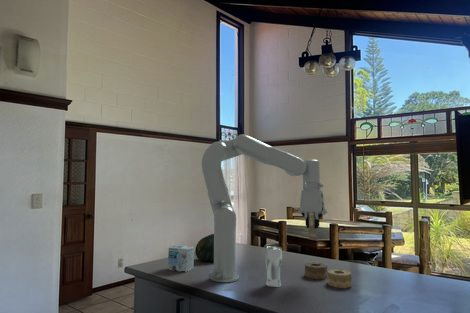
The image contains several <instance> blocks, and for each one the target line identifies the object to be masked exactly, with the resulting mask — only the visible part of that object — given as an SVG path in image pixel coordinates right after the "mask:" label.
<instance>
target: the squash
mask: <svg viewBox="0 0 470 313" xmlns="http://www.w3.org/2000/svg"><path fill="white" fill-rule="evenodd" d="M194 254H195V256H196V258H197V259H198V260H200V261H201V262H204V261H211V262H214V233H211V234H209V235H206V236H204V237H202V238H200V239H199V240H198V242H197V244H196V246H195V248H194Z"/></svg>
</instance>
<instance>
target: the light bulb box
mask: <svg viewBox="0 0 470 313" xmlns="http://www.w3.org/2000/svg"><path fill="white" fill-rule="evenodd" d="M194 255H195V247H194V246H190V245H189V246H188V245H179V244H174V245H173V246H169V247H168V255H167V257H168V258H167V270H168V269H169V270H168V271H174V270H177V271H176V272H181V271H185V272H184V273H188V272H190V271H192V270H191V269H193V268H194V260H195V256H194ZM189 270H190V271H189ZM193 270H194V269H193ZM187 271H188V272H187Z"/></svg>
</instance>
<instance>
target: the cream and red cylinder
mask: <svg viewBox="0 0 470 313" xmlns="http://www.w3.org/2000/svg"><path fill="white" fill-rule="evenodd" d="M308 213H309V228H308V239H309V241H310V240H311V241H317V229H315V218H316V217H315V212H308Z"/></svg>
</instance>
